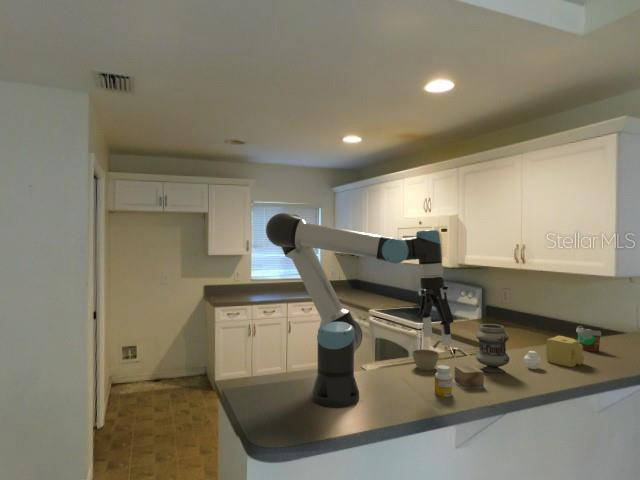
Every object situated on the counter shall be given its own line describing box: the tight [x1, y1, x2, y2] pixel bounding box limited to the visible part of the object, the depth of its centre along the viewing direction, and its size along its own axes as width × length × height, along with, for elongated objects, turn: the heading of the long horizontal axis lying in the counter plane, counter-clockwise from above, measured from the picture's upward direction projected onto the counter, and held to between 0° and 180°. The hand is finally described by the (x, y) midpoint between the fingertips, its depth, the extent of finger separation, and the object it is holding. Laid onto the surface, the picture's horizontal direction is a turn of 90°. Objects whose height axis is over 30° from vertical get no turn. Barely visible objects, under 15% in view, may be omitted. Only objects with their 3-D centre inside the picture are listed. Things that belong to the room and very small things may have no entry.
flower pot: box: [412, 348, 440, 371], centre depth 164 cm, size 10×10×7 cm
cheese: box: [545, 335, 585, 368], centre depth 176 cm, size 10×11×10 cm
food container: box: [575, 325, 602, 353], centre depth 198 cm, size 12×6×10 cm, turn 6°
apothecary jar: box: [475, 323, 510, 373], centre depth 163 cm, size 12×12×18 cm
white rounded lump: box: [523, 350, 542, 370], centre depth 169 cm, size 6×6×7 cm
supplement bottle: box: [434, 365, 453, 398], centre depth 137 cm, size 5×5×10 cm
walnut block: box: [454, 365, 485, 387], centre depth 147 cm, size 7×7×5 cm
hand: (437, 340), depth 140 cm, fingers open, 13 cm apart
